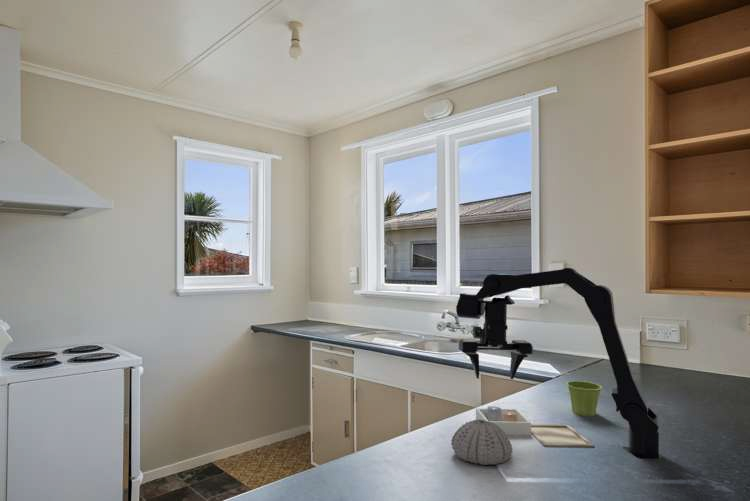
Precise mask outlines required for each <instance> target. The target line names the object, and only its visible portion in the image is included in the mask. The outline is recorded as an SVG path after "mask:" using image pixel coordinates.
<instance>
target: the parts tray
mask: <svg viewBox="0 0 750 501" xmlns="http://www.w3.org/2000/svg"><path fill="white" fill-rule="evenodd" d="M531 436H533V437H534V439H536V440H537V441H538V443H539V444H541V445H542V446H543V447H546V448H548V447H550V448H551V447H557V448H559V447H561V448H563V447H565V448H569V447H570V448H595V445H594V444H593V442H591V441H590V440H588V439H587V438H586V437H584V436H583V435H582V434H581V433H579V432H578V431H577V430H575V429H574V428H573V427H571V425H569V424H536V423H535V424H534V423H531Z"/></svg>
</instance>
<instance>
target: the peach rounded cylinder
mask: <svg viewBox="0 0 750 501" xmlns="http://www.w3.org/2000/svg"><path fill="white" fill-rule="evenodd" d="M517 419H518V414H517V413H515V412H509V411H507V412H503V421H504V422H517Z"/></svg>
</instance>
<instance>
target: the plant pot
mask: <svg viewBox="0 0 750 501" xmlns="http://www.w3.org/2000/svg"><path fill="white" fill-rule="evenodd" d="M566 386H567V388H568V391H569V396H570V402H571V411H572V413H574V414H575V415H579V416H583V417H594V416H596V414H597V406H598V400H599V396H600V393H601V391H602V390H603V387H602V385H600V384H598V383H594V382H590V381H584V380H583V381H581V380H573V381H568V382H567V383H566Z"/></svg>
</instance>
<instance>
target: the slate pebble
mask: <svg viewBox="0 0 750 501" xmlns="http://www.w3.org/2000/svg"><path fill="white" fill-rule="evenodd" d="M486 408H487V420H488V421H501V409H502V408H501V407H499V406H495V405H494V406H493V405H492V406H487V407H486Z"/></svg>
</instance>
